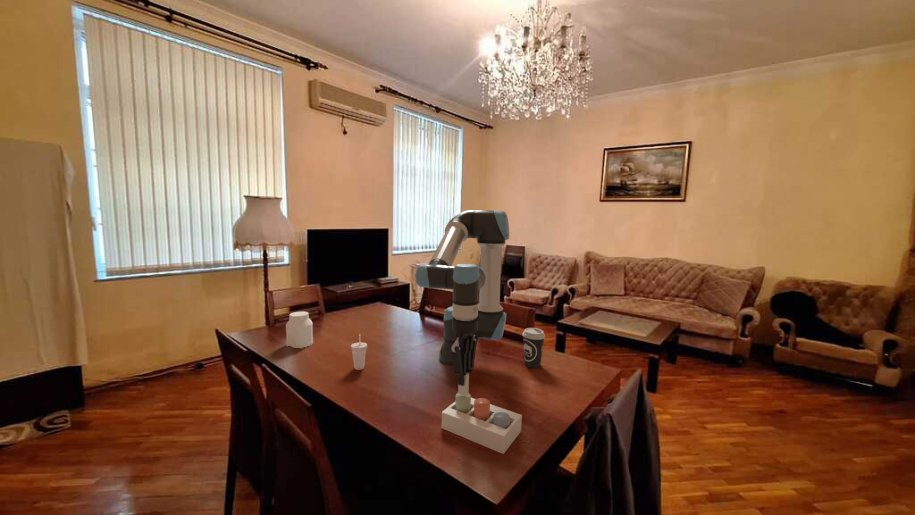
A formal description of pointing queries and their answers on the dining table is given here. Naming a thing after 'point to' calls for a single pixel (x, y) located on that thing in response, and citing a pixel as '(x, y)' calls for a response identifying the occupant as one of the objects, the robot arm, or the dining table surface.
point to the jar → (299, 330)
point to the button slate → (501, 420)
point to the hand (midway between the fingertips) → (463, 393)
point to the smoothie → (359, 354)
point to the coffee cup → (533, 346)
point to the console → (482, 427)
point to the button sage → (463, 403)
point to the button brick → (482, 409)
